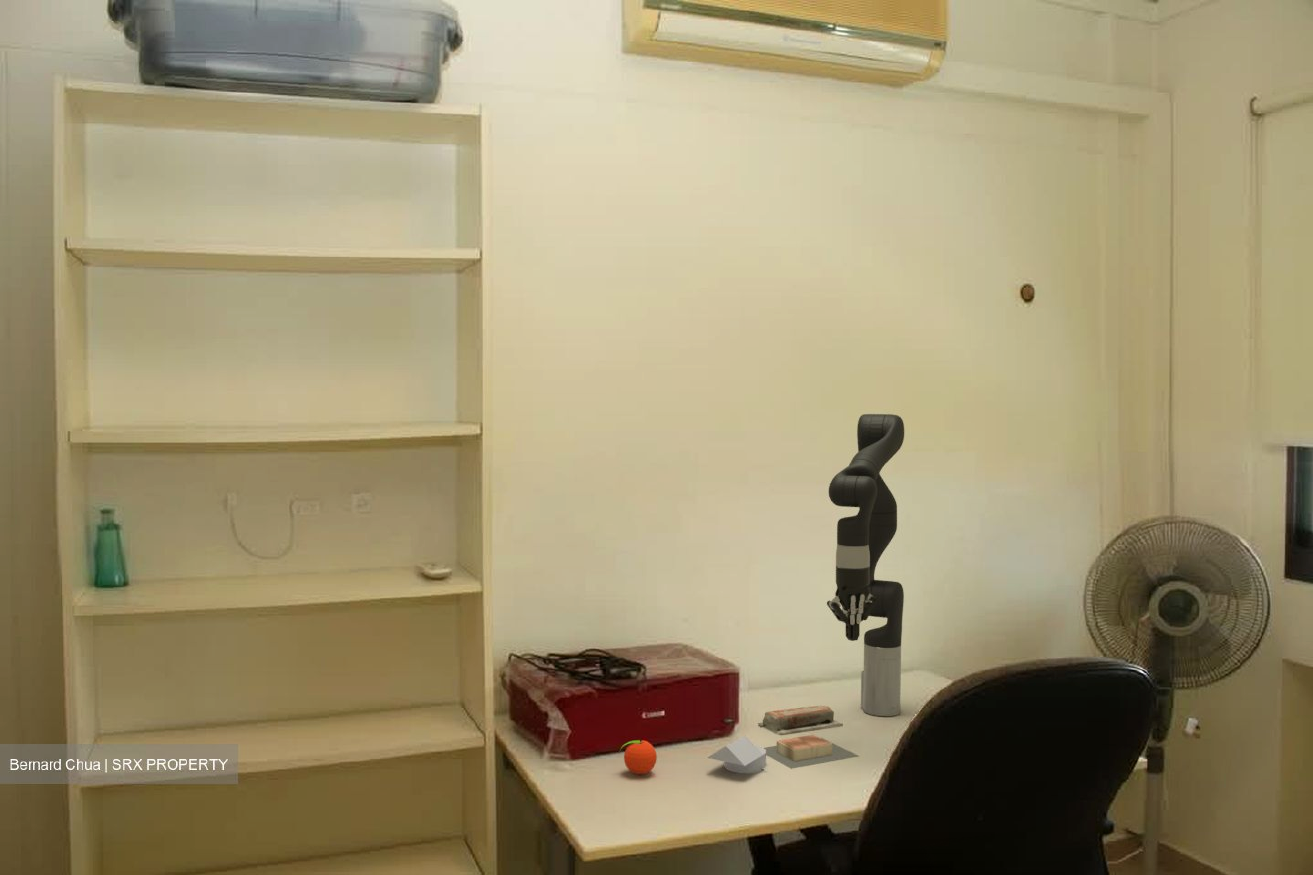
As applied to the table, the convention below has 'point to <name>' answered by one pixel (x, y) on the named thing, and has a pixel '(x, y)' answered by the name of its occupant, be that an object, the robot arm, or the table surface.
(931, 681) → the table surface
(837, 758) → the mat
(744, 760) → the wedge on round base
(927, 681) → the table surface
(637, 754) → the clementine
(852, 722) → the table surface
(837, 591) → the robot arm
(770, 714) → the packaged product
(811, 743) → the birch tile
